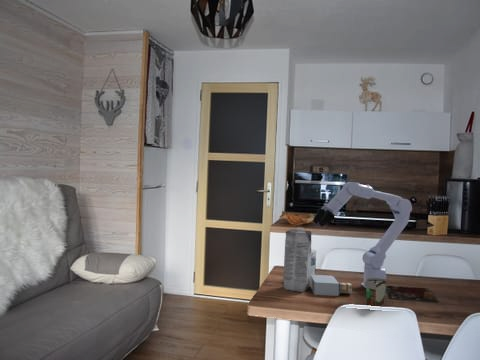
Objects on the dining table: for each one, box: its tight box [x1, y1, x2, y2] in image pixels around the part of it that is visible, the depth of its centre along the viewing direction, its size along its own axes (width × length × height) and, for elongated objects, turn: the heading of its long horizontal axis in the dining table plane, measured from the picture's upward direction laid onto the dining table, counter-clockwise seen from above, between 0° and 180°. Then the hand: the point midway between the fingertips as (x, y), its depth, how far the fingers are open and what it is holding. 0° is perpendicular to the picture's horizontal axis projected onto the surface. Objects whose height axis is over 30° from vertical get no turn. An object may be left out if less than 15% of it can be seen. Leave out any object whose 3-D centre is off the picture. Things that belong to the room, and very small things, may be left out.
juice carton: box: [283, 227, 312, 293], centre depth 180 cm, size 9×10×27 cm
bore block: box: [309, 274, 341, 297], centre depth 179 cm, size 10×14×5 cm
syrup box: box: [309, 249, 317, 283], centre depth 198 cm, size 6×6×14 cm
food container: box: [365, 278, 388, 307], centre depth 161 cm, size 12×6×10 cm, turn 141°
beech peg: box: [339, 282, 353, 294], centre depth 176 cm, size 10×4×4 cm, turn 88°
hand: (317, 223), depth 187 cm, fingers open, 7 cm apart
